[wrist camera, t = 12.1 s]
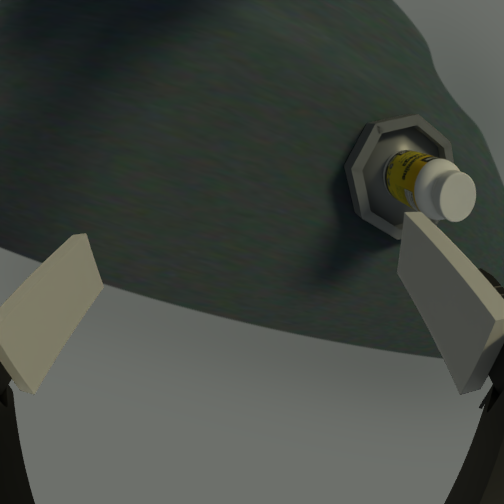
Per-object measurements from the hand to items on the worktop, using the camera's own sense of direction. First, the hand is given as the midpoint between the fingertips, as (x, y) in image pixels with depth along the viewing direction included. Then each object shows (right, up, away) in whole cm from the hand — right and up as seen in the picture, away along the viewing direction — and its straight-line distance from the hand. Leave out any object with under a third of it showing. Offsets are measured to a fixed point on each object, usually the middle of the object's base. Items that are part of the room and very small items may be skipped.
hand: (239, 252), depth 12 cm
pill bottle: (+18, +9, +22) cm, 30 cm away
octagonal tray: (+18, +9, +23) cm, 31 cm away
